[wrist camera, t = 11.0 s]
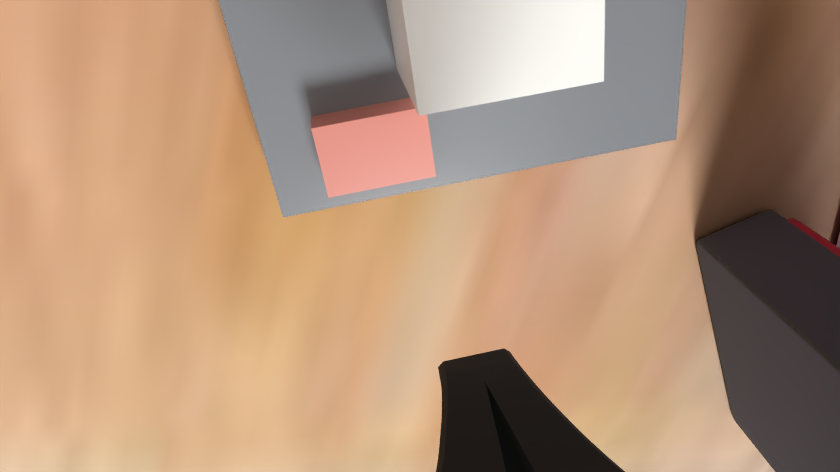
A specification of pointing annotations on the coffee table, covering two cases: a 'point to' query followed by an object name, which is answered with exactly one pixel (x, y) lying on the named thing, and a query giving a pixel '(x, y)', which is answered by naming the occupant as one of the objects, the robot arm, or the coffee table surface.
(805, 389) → the dark grey red box
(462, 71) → the white rectangular box
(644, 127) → the socket
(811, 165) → the coffee table surface
